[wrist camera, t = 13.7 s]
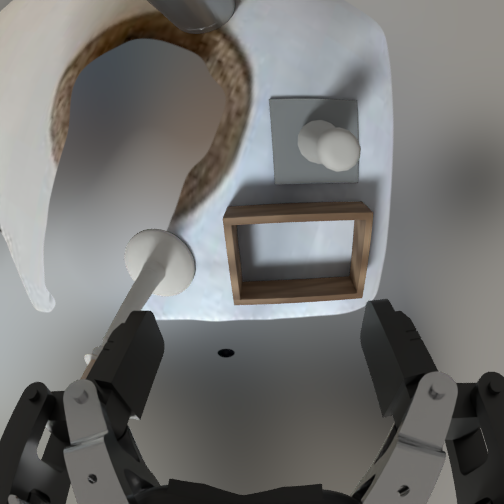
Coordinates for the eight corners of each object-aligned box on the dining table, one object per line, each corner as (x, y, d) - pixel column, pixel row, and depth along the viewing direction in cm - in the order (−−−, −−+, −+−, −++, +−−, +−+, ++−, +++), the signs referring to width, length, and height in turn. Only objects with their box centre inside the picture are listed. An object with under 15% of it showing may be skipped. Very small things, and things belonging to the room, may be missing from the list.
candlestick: (176, 218, 41) (65, 375, 14) (206, 286, 46) (157, 453, 20) (114, 241, 43) (4, 367, 16) (146, 299, 49) (78, 437, 22)
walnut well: (227, 206, 40) (222, 218, 35) (361, 201, 38) (373, 212, 34) (237, 286, 46) (234, 305, 41) (354, 280, 44) (362, 297, 40)
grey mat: (269, 99, 32) (269, 99, 32) (355, 100, 31) (356, 100, 31) (274, 183, 38) (274, 184, 37) (356, 182, 37) (357, 182, 36)
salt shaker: (342, 128, 33) (378, 133, 21) (330, 166, 35) (360, 189, 24) (301, 114, 32) (320, 111, 21) (290, 153, 35) (302, 170, 23)
